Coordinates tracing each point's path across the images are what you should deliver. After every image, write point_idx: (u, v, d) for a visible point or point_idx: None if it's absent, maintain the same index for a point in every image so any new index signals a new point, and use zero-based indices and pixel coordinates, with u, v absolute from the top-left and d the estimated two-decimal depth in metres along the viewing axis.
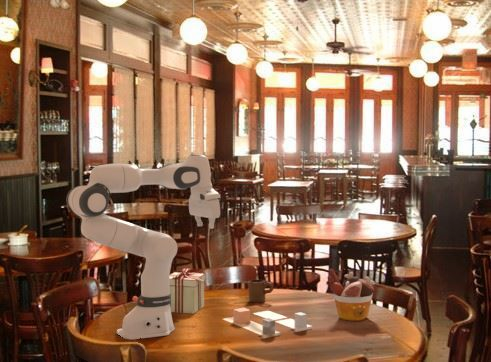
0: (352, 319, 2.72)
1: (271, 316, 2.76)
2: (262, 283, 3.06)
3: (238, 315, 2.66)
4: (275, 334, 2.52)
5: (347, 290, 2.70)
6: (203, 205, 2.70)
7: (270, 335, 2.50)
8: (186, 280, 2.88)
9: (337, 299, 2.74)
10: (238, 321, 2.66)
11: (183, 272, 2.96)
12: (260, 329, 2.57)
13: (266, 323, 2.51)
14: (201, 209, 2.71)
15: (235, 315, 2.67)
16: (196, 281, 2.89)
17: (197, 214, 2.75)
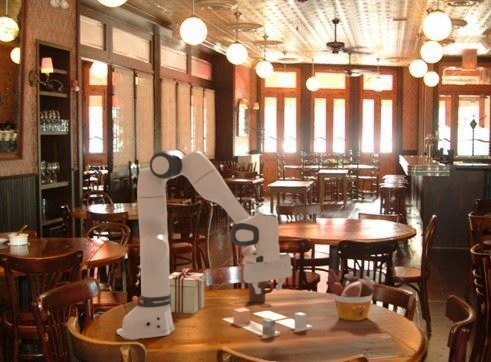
0: (352, 319, 2.72)
1: (271, 316, 2.76)
2: (262, 283, 3.06)
3: (238, 315, 2.66)
4: (275, 334, 2.52)
5: (347, 290, 2.70)
6: None
7: (270, 335, 2.50)
8: (186, 280, 2.88)
9: (337, 299, 2.74)
10: (238, 321, 2.66)
11: (183, 272, 2.96)
12: (260, 329, 2.57)
13: (266, 323, 2.51)
14: None
15: (235, 315, 2.67)
16: (196, 281, 2.89)
17: None
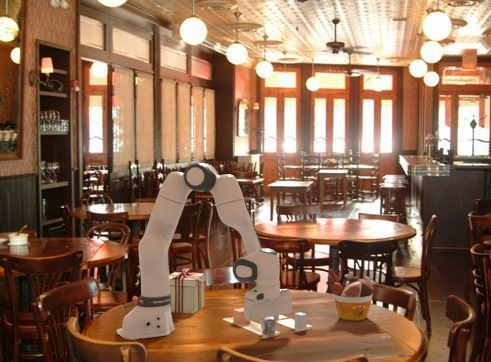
0: (352, 319, 2.72)
1: None
2: None
3: (238, 315, 2.66)
4: (275, 334, 2.52)
5: (347, 290, 2.70)
6: None
7: (270, 335, 2.50)
8: (186, 280, 2.88)
9: (337, 299, 2.74)
10: (238, 321, 2.66)
11: (183, 272, 2.96)
12: (260, 329, 2.57)
13: (266, 323, 2.51)
14: None
15: (235, 315, 2.67)
16: (196, 281, 2.89)
17: None
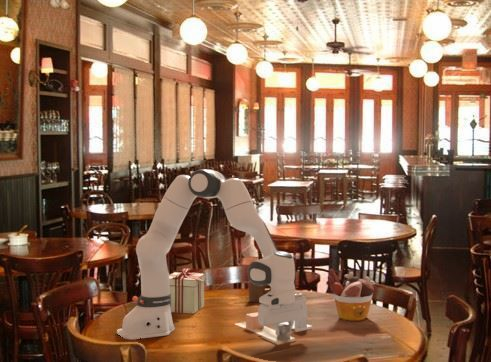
0: (352, 319, 2.72)
1: None
2: None
3: (251, 320, 2.58)
4: (290, 340, 2.44)
5: (347, 290, 2.70)
6: None
7: (285, 341, 2.43)
8: (186, 280, 2.88)
9: (337, 299, 2.74)
10: (251, 326, 2.58)
11: (183, 272, 2.96)
12: (274, 335, 2.49)
13: (281, 329, 2.43)
14: None
15: (248, 320, 2.60)
16: (196, 281, 2.89)
17: None
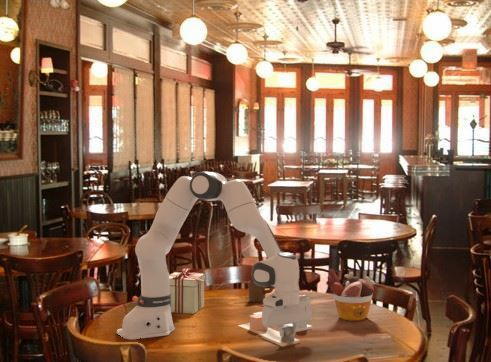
0: (352, 319, 2.72)
1: None
2: None
3: (255, 321, 2.56)
4: (294, 342, 2.42)
5: (347, 290, 2.70)
6: None
7: (289, 343, 2.40)
8: (186, 280, 2.88)
9: (337, 299, 2.74)
10: (255, 328, 2.56)
11: (183, 272, 2.96)
12: (278, 336, 2.47)
13: (285, 330, 2.41)
14: None
15: (252, 322, 2.57)
16: (196, 281, 2.89)
17: None
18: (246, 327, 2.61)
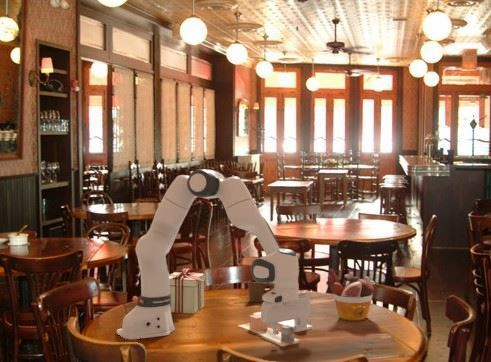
0: (352, 319, 2.72)
1: None
2: (262, 283, 3.06)
3: (255, 321, 2.56)
4: (294, 342, 2.42)
5: (347, 290, 2.70)
6: None
7: (289, 343, 2.40)
8: (186, 280, 2.88)
9: (337, 299, 2.74)
10: (255, 328, 2.56)
11: (183, 272, 2.96)
12: (278, 336, 2.47)
13: (285, 330, 2.41)
14: None
15: (252, 322, 2.57)
16: (196, 281, 2.89)
17: None
18: (246, 327, 2.60)
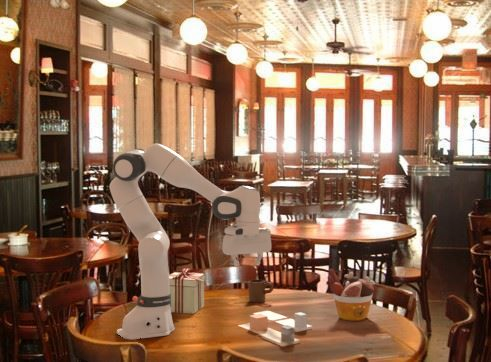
0: (352, 319, 2.72)
1: (271, 316, 2.76)
2: (262, 283, 3.06)
3: (255, 321, 2.56)
4: (294, 342, 2.42)
5: (347, 290, 2.70)
6: None
7: (289, 343, 2.40)
8: (186, 280, 2.88)
9: (337, 299, 2.74)
10: (255, 328, 2.56)
11: (183, 272, 2.96)
12: (278, 336, 2.47)
13: (285, 330, 2.41)
14: None
15: (252, 322, 2.57)
16: (196, 281, 2.89)
17: None
18: (246, 327, 2.60)
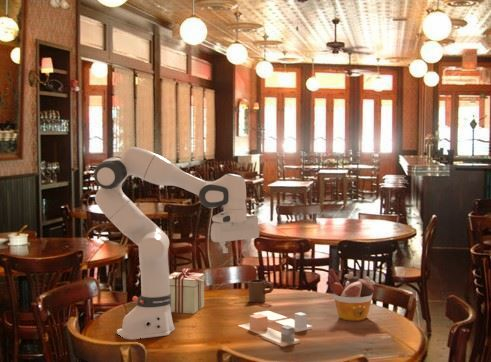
0: (352, 319, 2.72)
1: (271, 316, 2.76)
2: (262, 283, 3.06)
3: (255, 321, 2.56)
4: (294, 342, 2.42)
5: (347, 290, 2.70)
6: None
7: (289, 343, 2.40)
8: (186, 280, 2.88)
9: (337, 299, 2.74)
10: (255, 328, 2.56)
11: (183, 272, 2.96)
12: (278, 336, 2.47)
13: (285, 330, 2.41)
14: None
15: (252, 322, 2.57)
16: (196, 281, 2.89)
17: None
18: (246, 327, 2.60)
